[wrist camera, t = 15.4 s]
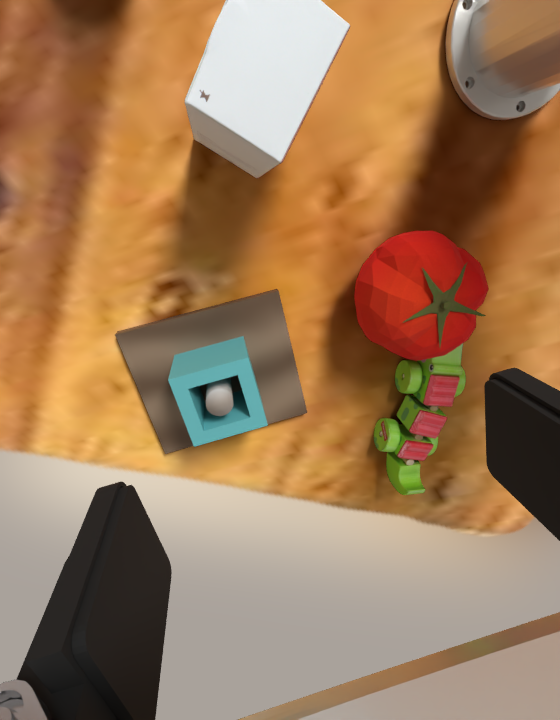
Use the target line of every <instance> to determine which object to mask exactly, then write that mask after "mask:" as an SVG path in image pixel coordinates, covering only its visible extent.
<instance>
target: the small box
mask: <svg viewBox="0 0 560 720" xmlns="http://www.w3.org/2000/svg"><path fill="white" fill-rule="evenodd" d="M349 28H350V25H349V24H348V23H347V22H346V21H345V20H344V19H342V18H341V17H340V16H339V15H338V14H336V13H335V12H334V11H333V10H332V9H330V8H329V7H328V6H327V5H326V4H324V3H323V2H322V1H321V0H226V1H225V4H224V6H223V8H222V10H221V13H220V15H219V17H218V19H217V21H216V23H215V25H214V28H213V30H212V33H211V35H210V38H209V40H208V42H207V45H206V48H205V51H204V54H203V57H202V59H201V62H200V64H199V66H198V69H197V71H196V74H195V76H194V79H193V81H192V83H191V86H190V89H189V91H188V94H187V96H186V98H185V105H186V109H187V113H188V117H189V121H190V125H191V129H192V133H193V137H194V139H195V140H196V141H198V142H199V143H201V144H203V145H204V146H206V147H207V148H209V149H211V150H212V151H214V152H215V153H217V154H219V155H220V156H222V157H223V158H225V159H227V160H228V161H230V162H231V163H233V164H235V165H236V166H238V167H239V168H241V169H242V170H244V171H246V172H247V173H249V174H250V175H252V176H254V177H255V178H259V177H261V176H262V175H264V174H265V173H267V172H268V171H270V170H271V169H273V168H274V167H275V166H277V165H278V164H280V163H282V162H283V160H284V158H285V156H286V154H287V153H288V151H289V149H290V147H291V145H292V143H293V141H294V139H295V137H296V135H297V133H298V131H299V129H300V127H301V125H302V123H303V121H304V119H305V117H306V115H307V113H308V111H309V109H310V107H311V105H312V103H313V101H314V99H315V97H316V95H317V93H318V91H319V89H320V87H321V85H322V83H323V81H324V79H325V77H326V75H327V73H328V71H329V69H330V66H331V64H332V62H333V60H334V59H335V57H336V55H337V53H338V51H339V49H340V47H341V45H342V43H343V41H344V38H345V36H346V34H347V32H348V30H349Z"/></svg>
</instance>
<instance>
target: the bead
mask: <svg viewBox="0 0 560 720" xmlns="http://www.w3.org/2000/svg"><path fill="white" fill-rule="evenodd" d="M236 375H238V378H239V381H240V384H241V388H242V390H241V391H238V392H234V393H232V395H233V408H232V410H231V411H230V412H229V413H228V414H226V415H224V416H215V415H213V414H211V413H210V412H209V411H208V410H207V408H206V401H205V400H204V397H203V394H202V391H201V389H200V385H204V384H207V383H211V382H214V381H218V380H221V379H225V378H229V377H232V376H236ZM168 381H169V384H170V386H171V389H172V391H173V394H174V396H175V399H176V402H177V404H178V407H179V409H180V412H181V415H182V417H183V420H184V422H185V425H186V427H187V430H188V433H189V435H190V438H191V440H192V443H193V445H194V447H195V446H199V445H202V444H206V443H209V442H213V441H216V440H220V439H223V438H226V437H230V436H233V435H237V434H240V433H244V432H247V431H250V430H254V429H257V428H261V427H264V426H268V424H267V420H266V416H265V412H264V408H263V404H262V400H261V396H260V392H259V389H258V385H257V382H256V378H255V375H254V371H253V368H252V364H251V361H250V358H249V354H248V351H247V347H246V344H245V340H244V337H243V336H242V337H238V338H234V339H231V340H227V341H224V342H220V343H216V344H213V345H209V346H205V347H202V348H198V349H195V350H191V351H187V352H184V353H180V354H177V355H174V359H173V363H172V367H171V370H170V374H169V378H168Z"/></svg>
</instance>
